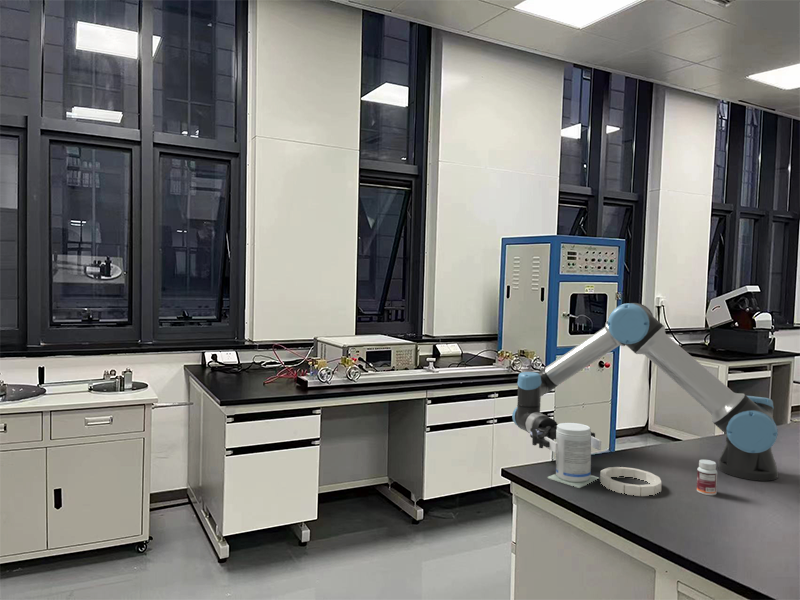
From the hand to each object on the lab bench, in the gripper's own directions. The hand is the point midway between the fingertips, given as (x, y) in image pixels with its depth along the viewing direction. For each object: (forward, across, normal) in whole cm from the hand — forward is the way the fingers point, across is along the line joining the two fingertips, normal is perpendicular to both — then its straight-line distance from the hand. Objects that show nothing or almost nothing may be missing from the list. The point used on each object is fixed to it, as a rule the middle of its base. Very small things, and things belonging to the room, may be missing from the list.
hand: (578, 446), depth 158 cm
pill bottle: (+14, -30, -10) cm, 35 cm away
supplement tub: (-2, 0, -10) cm, 10 cm away
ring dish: (+5, -13, -10) cm, 17 cm away
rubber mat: (-2, 0, -10) cm, 10 cm away
